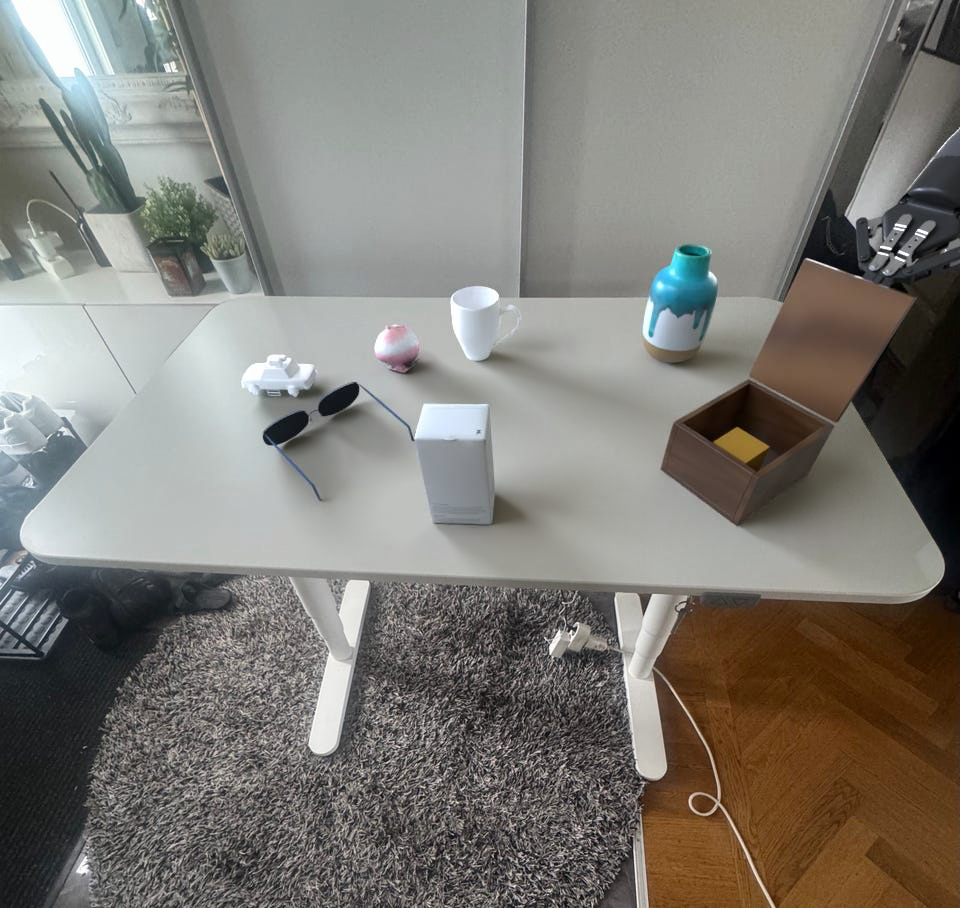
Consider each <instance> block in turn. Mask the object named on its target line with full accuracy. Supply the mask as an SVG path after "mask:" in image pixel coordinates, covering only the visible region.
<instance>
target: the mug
mask: <svg viewBox="0 0 960 908" xmlns="http://www.w3.org/2000/svg"><path fill="white" fill-rule="evenodd" d="M450 309H451V320H452V321H451V322H452V328H453V331H454V334H455V337H456V339H457V341H458V342H459V344H460V347H461V348H462V350H463V352H464V354H465V356H466V358H467V359H468V360H470V361H474V362H480V361H481V362H482V361H484V360H487V359H488V358H489V357H490V354H491V352H492V350H493V348H494V347H497V346H499V345H501V344H502V343H504V342H505V341H507V340H508V339H509V338H512V336H513V335H515V334H516V333H517V332H518V331H519V329H520V327H521V324H522V314H521V311H520V309H519V308H518V306H516V305H515V304H508V305H506V306H504V307H503V308H502V307H501V299H500V295H499V293H498V292H497V290H495V289H493V288H490V287H487V286H481V285H475V286H474V285H472V286H467V287H462V288H460V289H458V290H456V291H455V292H454V293H453V294H452V296H451V298H450ZM509 311H512V312H514V313H515V314H516V316H517V322H516V325H515V326H514V327H513V329H511V331H509V332H508V333H507V334H505V335H504V336H502V337H501V338H500V339H497V337H498V334H499V332H500V326H501V321H502V317H503V315H504V314H505V313H507V312H509Z"/></svg>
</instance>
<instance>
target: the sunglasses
mask: <svg viewBox="0 0 960 908" xmlns="http://www.w3.org/2000/svg"><path fill="white" fill-rule="evenodd" d="M360 387H361V388H362V389H363V391H365V393H367V394H368V395H369V396H370V397H372V398H373V399H374V400H375V401H376V402H377V403H379V404H380V405H381V406H382V407H383V408H384V409H386V411H388V412H389V413H390V414H391V415H392V416H394V417H395V418H396V419H397V420H398V421H399V422H401V423H402V424H403V425H404V426H405V427H406V428H407V430H408V433H409V437H410V439H411V441H412V442H415V440H414V438H415V437H414V435H413V432H412V429H411V427H410V425H409V424H408V423H407V422H406V421H405V420H404V419H403V418H402V417H400V416H399V415H398V414H397V413H396V412H394V411H393V410H392V409H391V408H390V407H388V406H387V405H386V404H385V403H383V402H382V401H381V400H380V399H379V398H378V397H376V396H375V395H374V394H373V393H372V392H370V391H369V390H368V389H367V388H366V387H365V386H363V385H361V384H360V383H358V382H357V381H351V382H347V383H345V384H343V385H340V386H338V387H336V388H334V389H333V390H331V391H330V392H328V393H326V394H325V395H324V396H323V397H321V398H320V400H319V401H318V403H317V409H313V410H311V411H310V413H309V414H308V413H307V411H306V410H304V409H300V410H298V409H297V410H295V411H293V412H290V413H288V414H285V415H283V416H282V417H280V418H278V419H276V420H274V421H273V422H272V423H270V424H269V425H268V426H266V427H265V428H264V430H263V431H262V433H261V435H262V440H263V443H264V444H265V445H266V446H274V448H275V449H276V450H277V451H278V452H279V453H280V454H281V455H282V456H283V457H284V459H285V460H286V461H287V462H288V463H289V464H290V465H291V466H292V467H293V468H294V469H295V470H296V471H297V472H298V474H300V475H301V477H302V478H303V479H304V480H305V481H306V482H307V483H308V484H309V485H310V486H311V488H312V489H313V492H314V493H315V496H316V497H317V499H318V501H319V502H321V501H322V499H321V496H320V494H319V492H318V490H317V487H316V486H315V484H314V483H313V482H312V481H311V480H310V479H309V477H307V475H306V474H305V473H304V472H303V471H302V470H301V469H300V468H299V467H298V465H297V464H295V463H294V462H293V461H292V459H290V457H289V456H288V455H287V454H286V453H284V451H283V450H282V449H281V447H279V446H278V445H281V444H285V443H286V442H288V441H290V440H292V439H293V438H295V437H296V436H298V435H299V434H300V433H301V432H303V430H305V429H306V428H307V426H308V425H309V423H310V424H311V423H312V421H313V420H312V419H313V418H312V416H311V414H312V413H313V412H317V414H318V415H319V416H320V417H323V418H324V417H329V416H334V415H336V414H339V413H341V412H342V411H344V410H346V409H347V408H349V407H350V406H351V405H352V404H354V402H355V401H356V400H357V399H358V398H359V395H360Z"/></svg>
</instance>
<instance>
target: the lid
mask: <svg viewBox="0 0 960 908" xmlns="http://www.w3.org/2000/svg"><path fill="white" fill-rule="evenodd" d="M917 299H918V296H915V295H912V294H909V293H906V292H904V291H902V290H898V289H896V288H892V287H891V286H889V287H887V286H884V285H882V284H879V283H876V282H873V281H870V280H868V279H865V278H862V276H859V275H856V274H853V273H850V272H848V271H845V270H842V269H839V268H836V267H833V266H831V265H828V264H826V263H822V262H819V261H816V260H814V259H811V258H808V257H806V258H804V259H803V261H802V262H801V265H800V267H799V269H798V271H797V273H796V275H795V277H794V279H793V281H792V284H791V285H790V287H789V290H788V292H787V293H786V296H785V298H784V300H783V303H782V304H781V307H780V309H779V311H778V313H777V316H776V318H775V320H774V321H773V323H772V325H771V327H770V330H769V332H768V334H767V336H766V338H765V340H764V342H763V345H762V347H761V349H760V351H759V353H758V355H757V357H756V359H755V361H754V363H753V366H752V368H751V370H750V371H749V374H748V378H749V379H751V380H753V381H755V382H757V383H759V384H762V386H764V387H765V386H766V388H768V389H771V390H772V391H775V392H776V393H777V394H779V395H781V396H783V397H785V398H788V399H790V401H791V400H792V402H794V403H795V402H796V404H798V405H801V406H802V407H803V408H805V409H807V410H809V411H811V412H814V413H816V414H817V415H818V416H819V415H820V416H821V417H822V418H824V419H826V420H829V421H830V422H831V423H833V424H834V423H835V424H836V423H838V422H839V421H840V419H841V418H842V417H843V415H844V414H845V412H846V411H847V409H848V407H849V406H850V404H851V403H852V401H853V399H854V398H855V396H856V395H857V393H858V392H859V390H860V389H861V387H862V386H863V384H864V382H865V380H866V379H867V377H868V376H869V375H870V372H871V371H872V369H873V368H874V366H875V365H876V363H877V361H878V360H879V358H880V357H881V355H882V354H883V353H884V351H885V349H886V347H887V346H888V344H889V343H890V341H891V340H892V338H893V337H894V335H895V333H896V332H897V330H898V329H899V327H900V326H901V324H902V322H903V321H904V319H905V317H906V316H907V315H908V313H909V311H910V309H911V308H912V307H913V305H914V304H915V302H916V300H917Z"/></svg>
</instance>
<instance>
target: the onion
mask: <svg viewBox="0 0 960 908" xmlns="http://www.w3.org/2000/svg"><path fill="white" fill-rule="evenodd" d="M420 350H421V348H420V343H419V340H418V338H417V336H416V334H415V333H414V332H413V331H412V330H411V329H410V328H408V327H406V326H405V325H400V324H393V325H386V326H385V329H383V330H382V331H381V332H380V333H379V334H378V335H377V338H376V339H375V344H374V353H375V356H376V358H377V359H378V360H379V361H381V362H382V363H385V364H387V369H388V370H392V371H395V372H399V373H404V374H405V373H406V372H407V371H408V370H410V369H411V368H412V367H414V366H415V365H416V363H417V362H418V361H419V360H421V358H418V359H417V357H418V356H419V354H420ZM416 359H417V360H416ZM415 360H416V361H415ZM414 361H415V362H414ZM413 362H414V364H412V365H411V366H407V365H408V364H410V363H413Z"/></svg>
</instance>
